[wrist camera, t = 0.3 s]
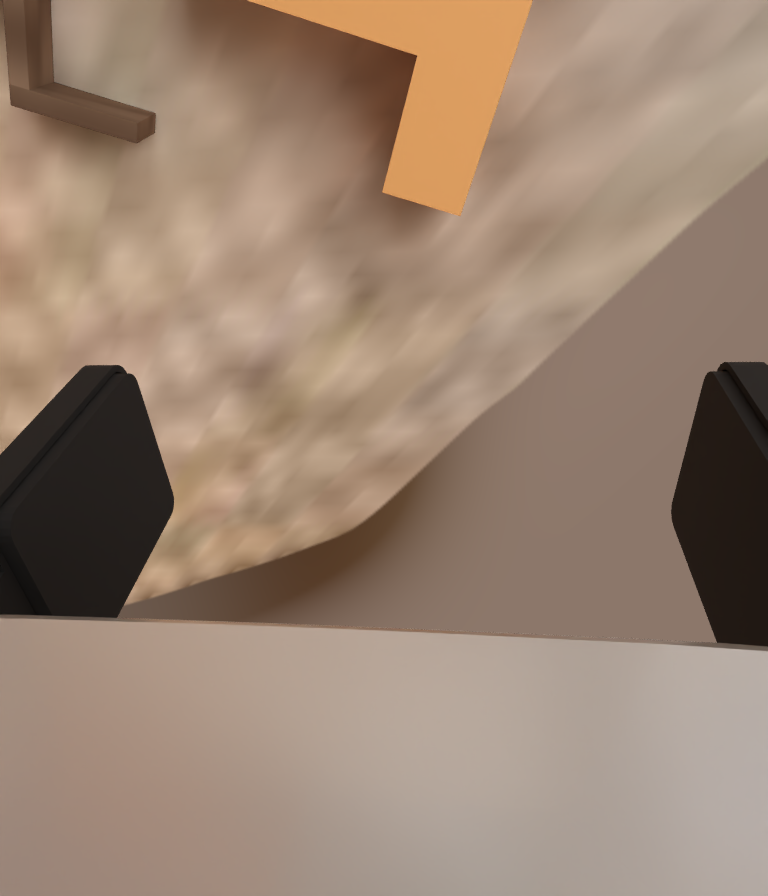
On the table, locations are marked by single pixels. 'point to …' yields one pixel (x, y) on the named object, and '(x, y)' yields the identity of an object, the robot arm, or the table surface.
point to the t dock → (43, 96)
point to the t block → (434, 82)
